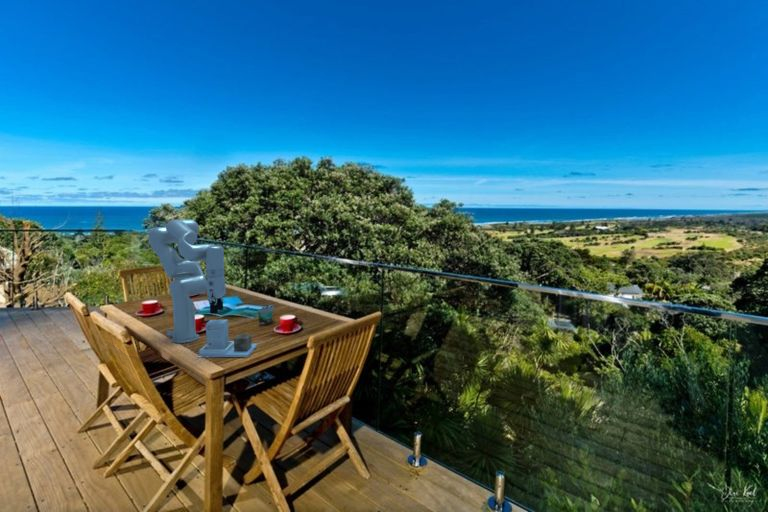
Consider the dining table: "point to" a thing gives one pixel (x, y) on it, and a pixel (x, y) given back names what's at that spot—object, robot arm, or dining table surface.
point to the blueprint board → (226, 351)
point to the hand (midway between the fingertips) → (216, 311)
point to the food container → (265, 315)
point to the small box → (217, 334)
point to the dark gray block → (242, 342)
